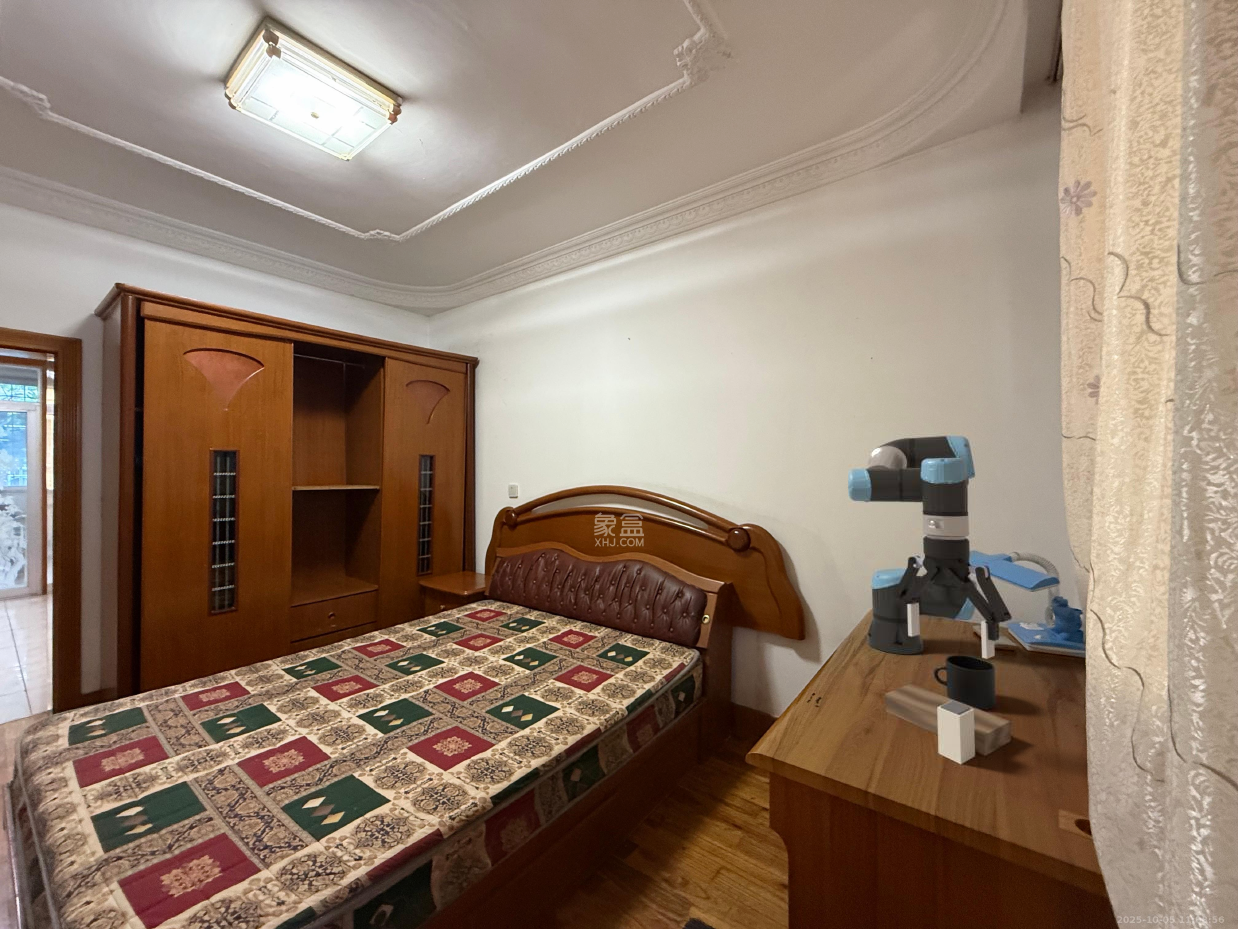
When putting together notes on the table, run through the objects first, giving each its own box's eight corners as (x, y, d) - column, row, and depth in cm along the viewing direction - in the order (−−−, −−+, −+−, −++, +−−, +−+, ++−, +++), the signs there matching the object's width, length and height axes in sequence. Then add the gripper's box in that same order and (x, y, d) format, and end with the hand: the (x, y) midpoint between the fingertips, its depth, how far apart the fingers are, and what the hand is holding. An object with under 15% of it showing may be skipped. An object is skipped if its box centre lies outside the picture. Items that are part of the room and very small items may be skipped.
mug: (936, 685, 123) (935, 649, 124) (996, 698, 116) (995, 660, 116) (931, 700, 116) (930, 662, 116) (995, 715, 109) (994, 674, 109)
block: (952, 745, 97) (951, 699, 97) (974, 756, 94) (973, 708, 94) (938, 753, 95) (937, 705, 95) (960, 764, 92) (959, 714, 92)
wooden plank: (911, 700, 116) (911, 683, 116) (1010, 741, 98) (1010, 721, 99) (885, 711, 111) (885, 694, 111) (984, 756, 94) (984, 735, 94)
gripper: (874, 531, 104) (876, 630, 104) (1010, 546, 82) (1014, 672, 82) (895, 528, 108) (898, 624, 108) (1032, 542, 86) (1036, 663, 86)
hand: (948, 645), depth 95 cm, fingers open, 13 cm apart
